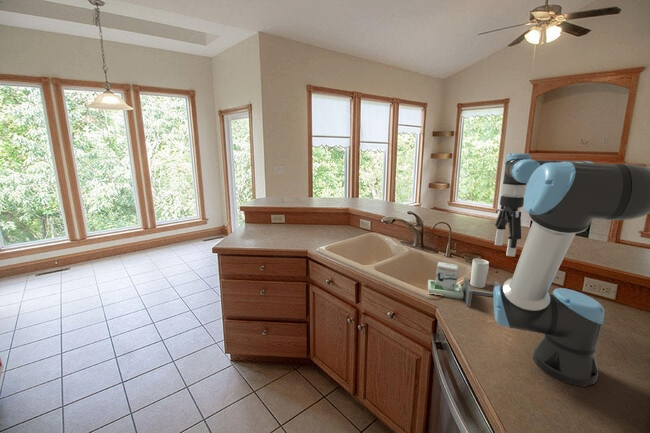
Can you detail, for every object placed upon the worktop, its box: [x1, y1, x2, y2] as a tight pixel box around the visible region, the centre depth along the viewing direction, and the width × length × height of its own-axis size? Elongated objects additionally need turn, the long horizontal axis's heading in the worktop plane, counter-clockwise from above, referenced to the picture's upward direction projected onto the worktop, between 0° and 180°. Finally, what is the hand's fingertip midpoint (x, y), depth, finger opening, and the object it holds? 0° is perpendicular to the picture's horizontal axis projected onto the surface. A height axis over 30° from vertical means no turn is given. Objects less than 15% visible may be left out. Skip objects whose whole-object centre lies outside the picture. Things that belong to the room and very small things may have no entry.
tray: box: [427, 279, 464, 300], centre depth 136 cm, size 10×14×2 cm
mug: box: [469, 258, 490, 289], centre depth 142 cm, size 10×7×12 cm, turn 119°
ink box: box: [434, 261, 459, 292], centre depth 134 cm, size 9×5×12 cm, turn 65°
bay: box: [462, 276, 501, 308], centre depth 127 cm, size 14×13×7 cm
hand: (504, 250), depth 117 cm, fingers open, 13 cm apart
